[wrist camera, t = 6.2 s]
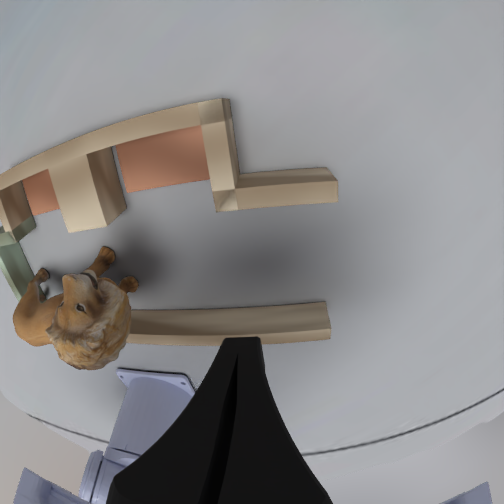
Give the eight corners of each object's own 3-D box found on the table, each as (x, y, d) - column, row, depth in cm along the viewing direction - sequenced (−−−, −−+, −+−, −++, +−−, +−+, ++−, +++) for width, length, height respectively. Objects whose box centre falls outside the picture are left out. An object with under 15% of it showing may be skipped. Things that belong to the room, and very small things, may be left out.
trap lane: (324, 312, 19) (330, 342, 16) (49, 314, 21) (36, 334, 19) (321, 91, 12) (334, 89, 9) (-9, 181, 14) (-31, 194, 12)
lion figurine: (138, 204, 15) (47, 305, 7) (182, 274, 18) (136, 395, 10) (29, 274, 19) (-26, 341, 11) (63, 318, 21) (19, 389, 13)
